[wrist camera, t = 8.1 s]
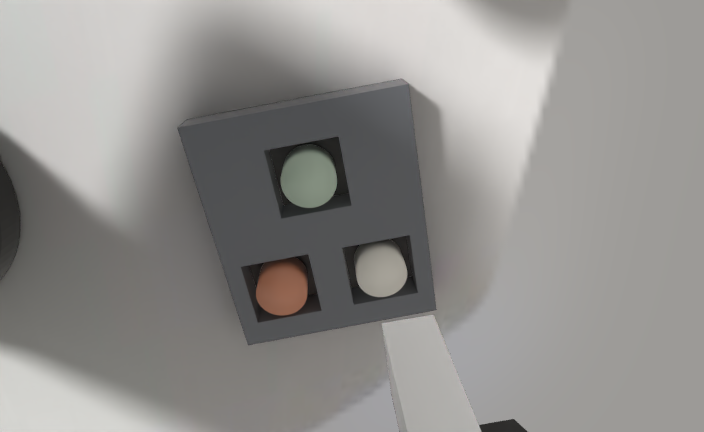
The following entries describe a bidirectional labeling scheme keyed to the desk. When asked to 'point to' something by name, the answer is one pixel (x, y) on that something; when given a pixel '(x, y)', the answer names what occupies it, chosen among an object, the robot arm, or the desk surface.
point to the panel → (320, 222)
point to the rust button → (282, 286)
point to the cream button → (380, 268)
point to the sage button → (308, 176)
